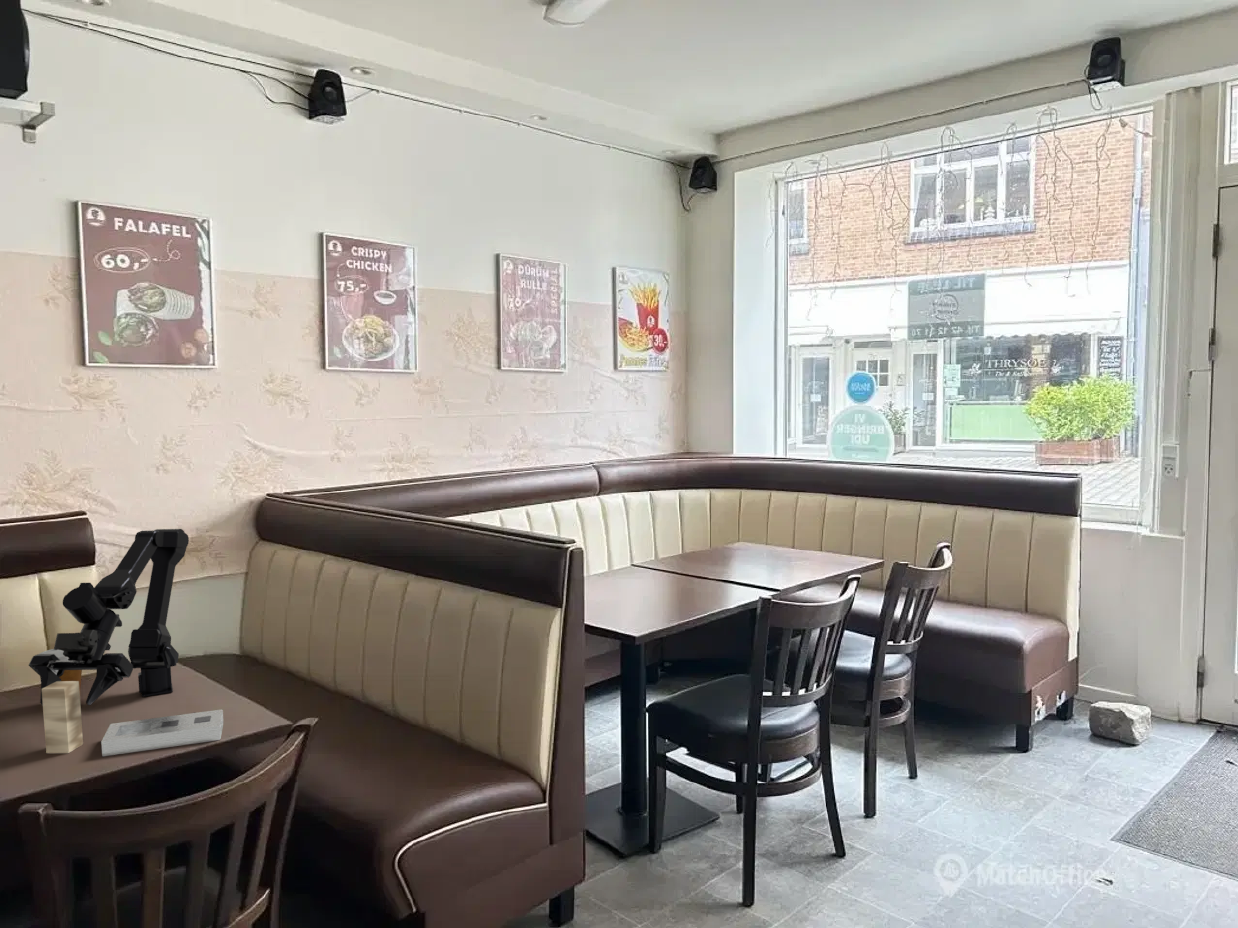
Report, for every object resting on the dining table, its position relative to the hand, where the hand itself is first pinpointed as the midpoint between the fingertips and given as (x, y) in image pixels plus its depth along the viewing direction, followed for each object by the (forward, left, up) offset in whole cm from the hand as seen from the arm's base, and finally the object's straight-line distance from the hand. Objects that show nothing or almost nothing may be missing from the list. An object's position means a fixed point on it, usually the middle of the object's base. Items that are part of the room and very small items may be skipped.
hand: (65, 704), depth 177 cm
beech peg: (0, +1, -9) cm, 9 cm away
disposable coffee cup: (+2, -31, -9) cm, 32 cm away
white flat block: (-17, +6, -9) cm, 20 cm away
